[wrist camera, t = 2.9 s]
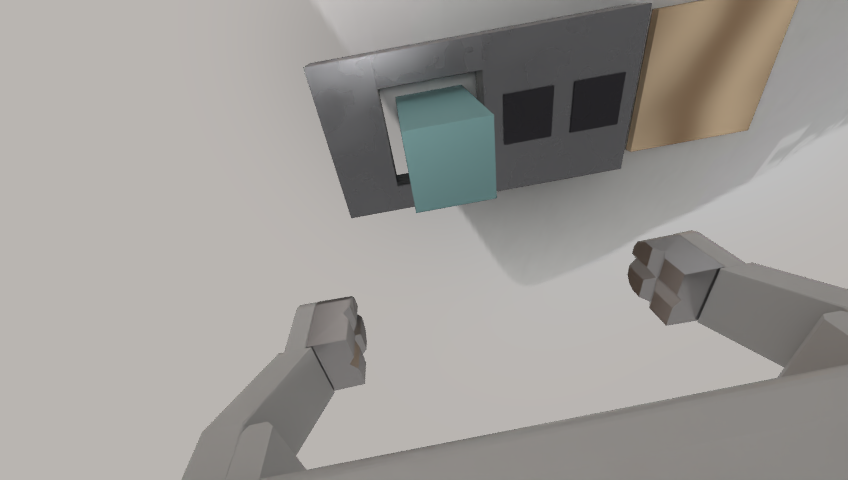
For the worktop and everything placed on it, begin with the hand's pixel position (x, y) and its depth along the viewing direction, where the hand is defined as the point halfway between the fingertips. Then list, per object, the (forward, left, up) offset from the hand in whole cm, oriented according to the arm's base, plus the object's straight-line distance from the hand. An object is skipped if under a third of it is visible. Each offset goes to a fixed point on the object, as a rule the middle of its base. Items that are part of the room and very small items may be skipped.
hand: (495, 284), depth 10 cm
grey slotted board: (-3, 0, -17) cm, 17 cm away
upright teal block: (0, 0, -17) cm, 17 cm away
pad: (-19, 0, -17) cm, 25 cm away
